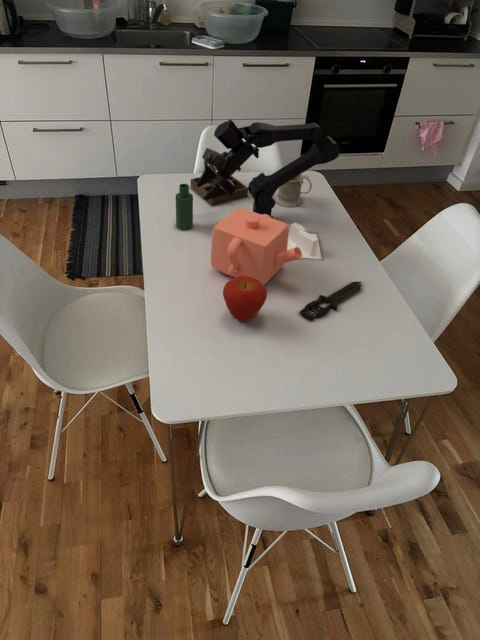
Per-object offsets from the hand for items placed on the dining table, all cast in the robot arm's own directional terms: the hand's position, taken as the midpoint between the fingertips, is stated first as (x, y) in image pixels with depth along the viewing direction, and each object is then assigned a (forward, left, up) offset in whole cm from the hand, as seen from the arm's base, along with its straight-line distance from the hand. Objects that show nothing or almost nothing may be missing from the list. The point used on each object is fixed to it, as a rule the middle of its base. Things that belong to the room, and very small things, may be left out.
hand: (200, 192), depth 162 cm
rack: (+17, -18, -12) cm, 27 cm away
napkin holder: (-26, -23, -12) cm, 37 cm away
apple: (-46, +14, -12) cm, 50 cm away
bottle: (+2, +5, -12) cm, 13 cm away
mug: (-2, -38, -12) cm, 40 cm away
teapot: (-32, -1, -12) cm, 34 cm away
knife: (-53, -13, -12) cm, 56 cm away
